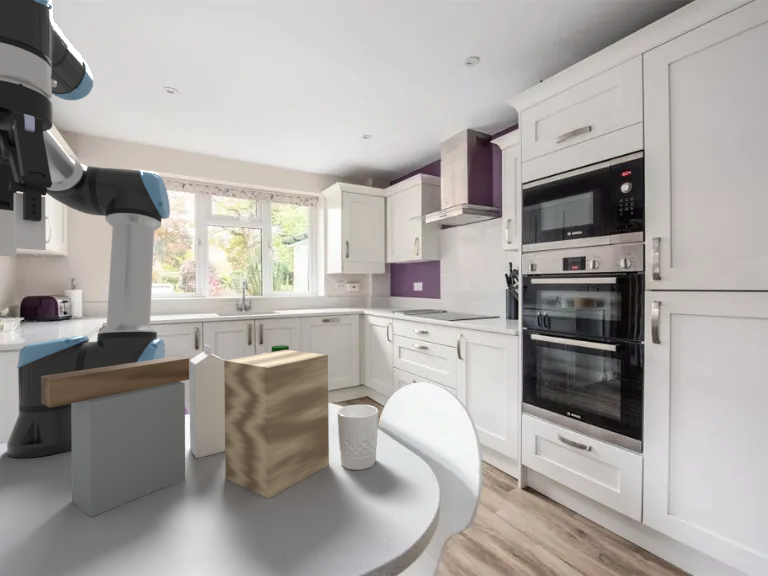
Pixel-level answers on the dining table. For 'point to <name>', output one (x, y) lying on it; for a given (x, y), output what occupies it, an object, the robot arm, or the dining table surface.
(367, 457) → the white cup
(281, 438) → the oak block
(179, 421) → the grey block
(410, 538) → the dining table surface
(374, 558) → the dining table surface
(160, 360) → the bar
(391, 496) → the dining table surface
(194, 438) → the milk
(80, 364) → the robot arm
